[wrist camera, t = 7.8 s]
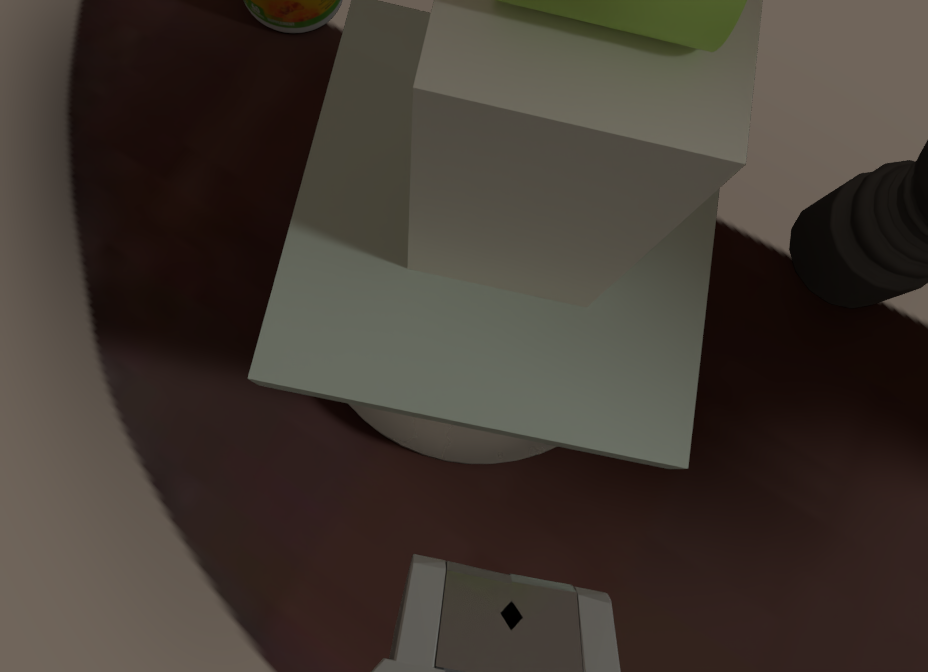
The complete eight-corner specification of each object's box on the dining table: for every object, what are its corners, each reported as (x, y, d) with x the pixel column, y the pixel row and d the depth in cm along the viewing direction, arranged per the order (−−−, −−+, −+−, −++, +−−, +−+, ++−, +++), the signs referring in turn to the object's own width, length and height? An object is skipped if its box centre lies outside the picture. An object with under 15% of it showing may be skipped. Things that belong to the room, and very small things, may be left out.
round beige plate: (609, 494, 30) (685, 503, 22) (274, 426, 30) (224, 410, 21) (652, 187, 34) (732, 98, 26) (353, 119, 33) (337, 4, 25)
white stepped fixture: (668, 469, 22) (1063, 460, 9) (258, 385, 21) (29, 242, 8) (712, 107, 25) (1048, -291, 12) (355, 23, 24) (303, -498, 11)
